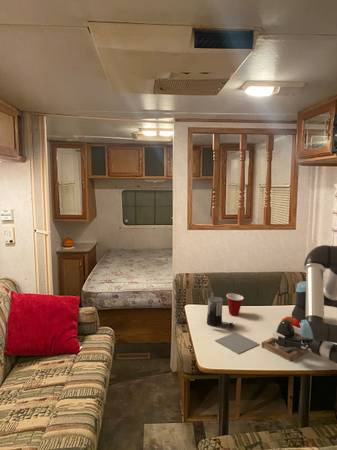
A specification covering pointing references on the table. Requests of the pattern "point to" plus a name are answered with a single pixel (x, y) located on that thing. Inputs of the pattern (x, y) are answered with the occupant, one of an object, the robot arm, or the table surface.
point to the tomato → (293, 322)
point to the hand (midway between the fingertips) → (281, 330)
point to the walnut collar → (289, 357)
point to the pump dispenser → (285, 334)
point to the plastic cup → (234, 303)
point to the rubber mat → (237, 343)
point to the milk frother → (215, 312)
